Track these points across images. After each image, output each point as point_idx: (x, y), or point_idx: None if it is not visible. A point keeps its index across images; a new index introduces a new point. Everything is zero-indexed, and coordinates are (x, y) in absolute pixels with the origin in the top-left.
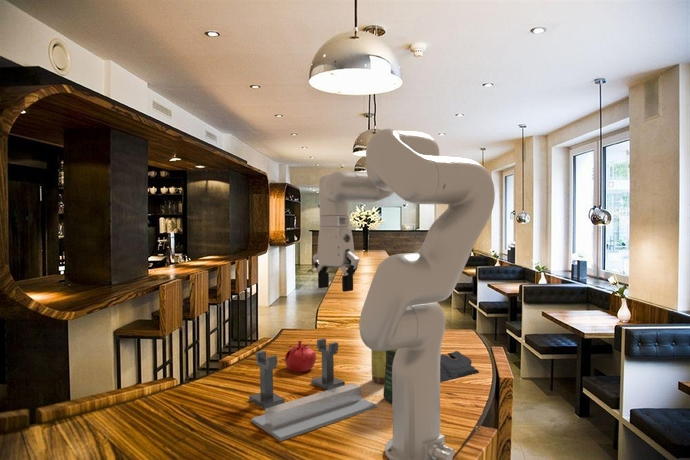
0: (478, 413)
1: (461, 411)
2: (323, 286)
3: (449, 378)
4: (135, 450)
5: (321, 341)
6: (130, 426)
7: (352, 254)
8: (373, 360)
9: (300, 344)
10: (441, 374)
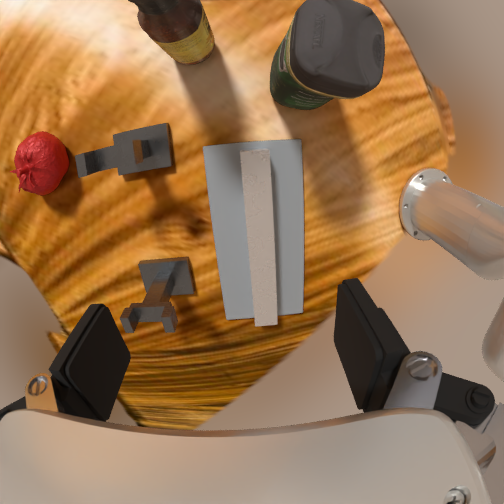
0: (405, 47)
1: (389, 55)
2: (121, 342)
3: None
4: (227, 398)
5: (88, 167)
6: (171, 393)
7: (496, 499)
8: (180, 53)
9: (23, 171)
10: None
